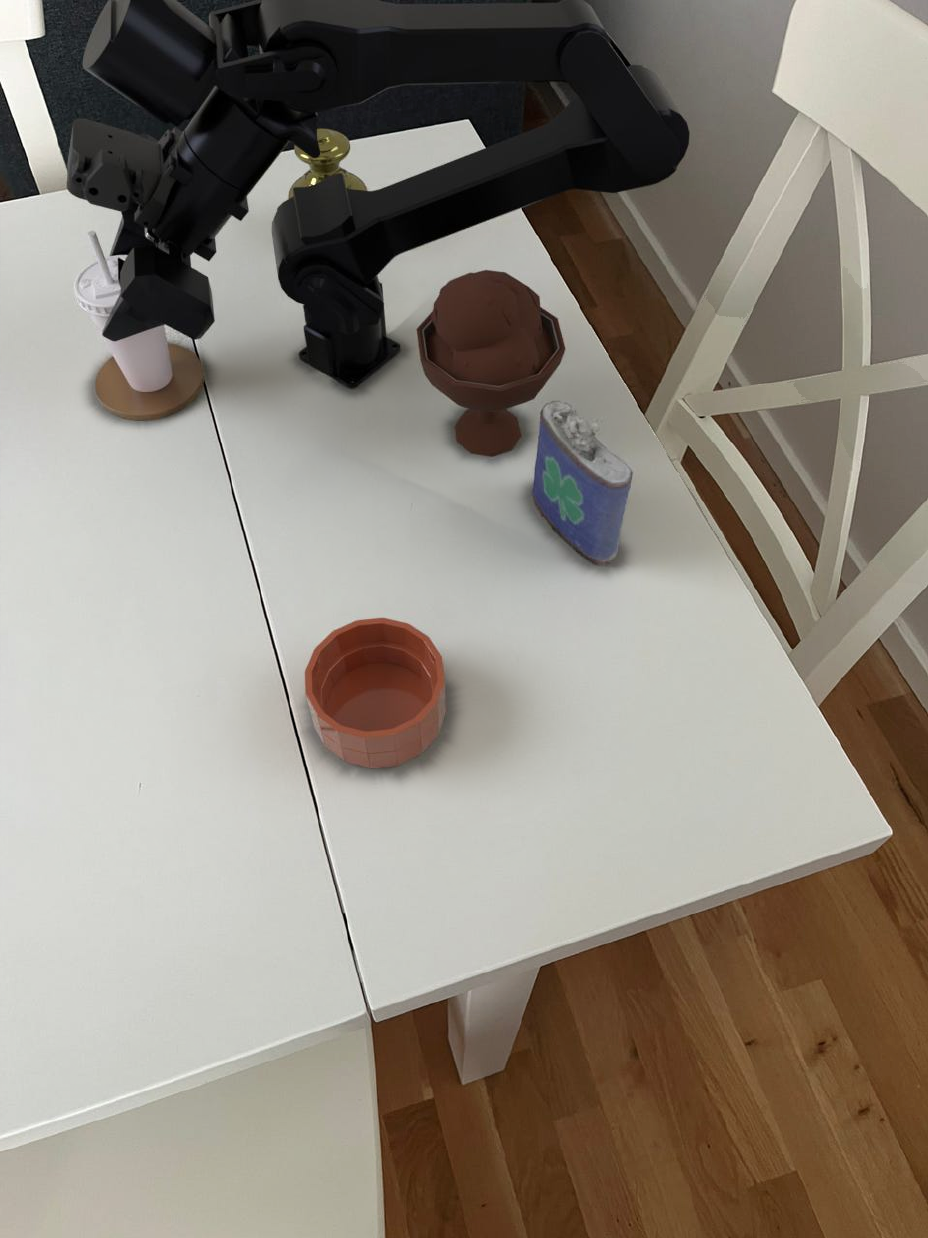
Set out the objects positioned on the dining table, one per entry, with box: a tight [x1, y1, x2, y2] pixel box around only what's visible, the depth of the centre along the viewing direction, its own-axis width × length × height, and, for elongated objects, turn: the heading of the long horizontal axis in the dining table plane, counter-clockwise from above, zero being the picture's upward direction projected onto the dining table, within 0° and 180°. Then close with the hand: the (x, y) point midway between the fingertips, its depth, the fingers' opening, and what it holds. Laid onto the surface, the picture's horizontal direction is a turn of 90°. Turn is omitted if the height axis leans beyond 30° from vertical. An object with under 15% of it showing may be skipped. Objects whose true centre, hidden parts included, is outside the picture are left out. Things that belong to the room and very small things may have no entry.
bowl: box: [304, 617, 447, 769], centre depth 64 cm, size 9×9×4 cm
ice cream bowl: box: [416, 269, 566, 457], centre depth 74 cm, size 11×11×15 cm
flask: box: [531, 400, 634, 567], centre depth 70 cm, size 9×3×11 cm, turn 32°
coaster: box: [94, 342, 205, 421], centre depth 83 cm, size 9×9×1 cm
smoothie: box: [73, 230, 173, 392], centre depth 77 cm, size 6×6×14 cm
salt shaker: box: [287, 128, 369, 200], centre depth 91 cm, size 7×7×10 cm
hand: (107, 309), depth 77 cm, fingers closed on smoothie, 6 cm apart
